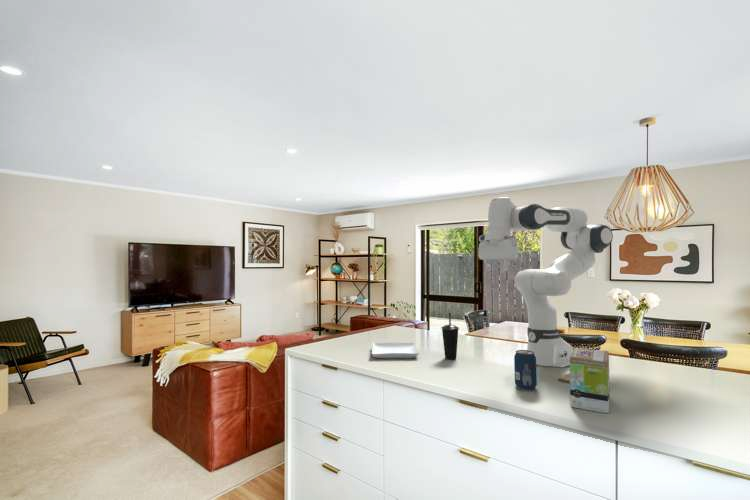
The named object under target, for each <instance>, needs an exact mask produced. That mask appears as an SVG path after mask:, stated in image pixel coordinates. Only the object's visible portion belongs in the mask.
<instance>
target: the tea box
mask: <svg viewBox="0 0 750 500" xmlns="http://www.w3.org/2000/svg"><path fill="white" fill-rule="evenodd" d="M609 354H610V353H609V351H608V350H602V349H601V350H600V349H592V348H591V349H590V348H581V347H573V352H572V354H571V356H570V365H569V373H570V383H569V389H570V391H569V395H570V396H569V399H570V401H569V403H570V407H572V408H576V409H580V410H586V411H591V412H598V413H602V414H609V413H610V412H609V411H610V388H611V387H610V358H609V357H610V355H609Z"/></svg>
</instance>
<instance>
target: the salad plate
mask: <svg viewBox="0 0 750 500" xmlns="http://www.w3.org/2000/svg"><path fill="white" fill-rule="evenodd" d="M371 349H372V350H371V355H372V356H373V357H374V358H376V359H377V358H378V359H411V358H412V359H413V358H417V356H419V354H420V351H419V349H418V346H417V344H416V343H415V342H372V348H371Z"/></svg>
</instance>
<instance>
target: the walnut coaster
mask: <svg viewBox="0 0 750 500" xmlns="http://www.w3.org/2000/svg"><path fill="white" fill-rule="evenodd" d="M557 380H558V382H561V383H562V382H563V383H568V384H570V372H569V373H566V374H565V375H563V376H561V377H559V378H558V379H557Z"/></svg>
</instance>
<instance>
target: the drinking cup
mask: <svg viewBox="0 0 750 500" xmlns="http://www.w3.org/2000/svg"><path fill="white" fill-rule="evenodd" d="M451 316H452V314H451V313H450V312H449V313H448V323H449V324H445V325H444V326H441V331H442V341H443V349H444V358H445V360H450V361H454V360H457V355H458V354H457V352H458V337H459V336H458V335H459V330H460V327H459V326H456V325H455V324H452V319H451Z"/></svg>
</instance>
